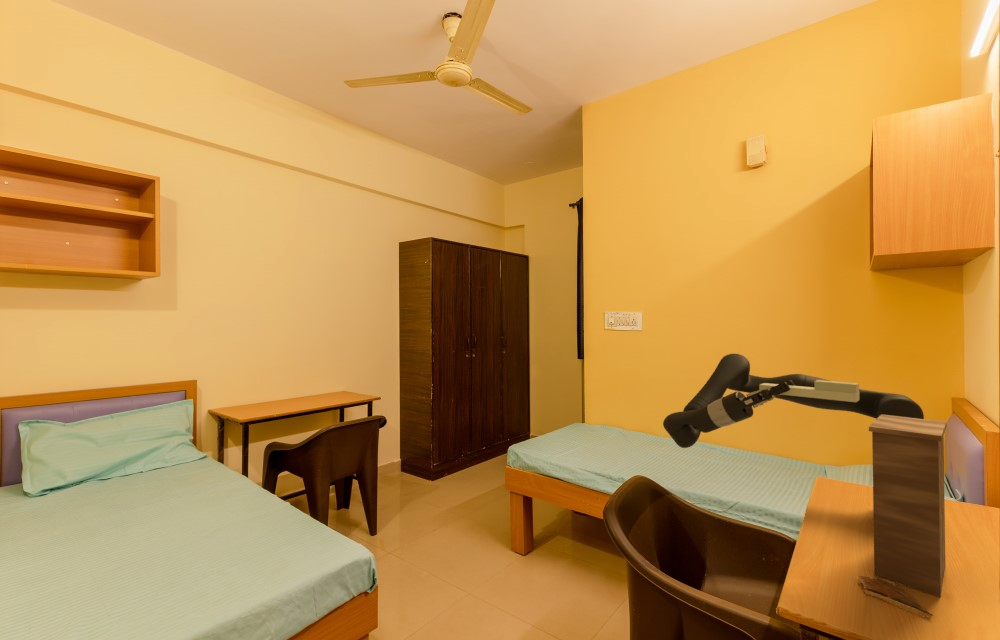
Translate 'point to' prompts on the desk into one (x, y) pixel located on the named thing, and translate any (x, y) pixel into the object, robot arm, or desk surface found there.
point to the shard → (892, 594)
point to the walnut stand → (909, 501)
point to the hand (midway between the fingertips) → (790, 384)
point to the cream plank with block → (823, 390)
